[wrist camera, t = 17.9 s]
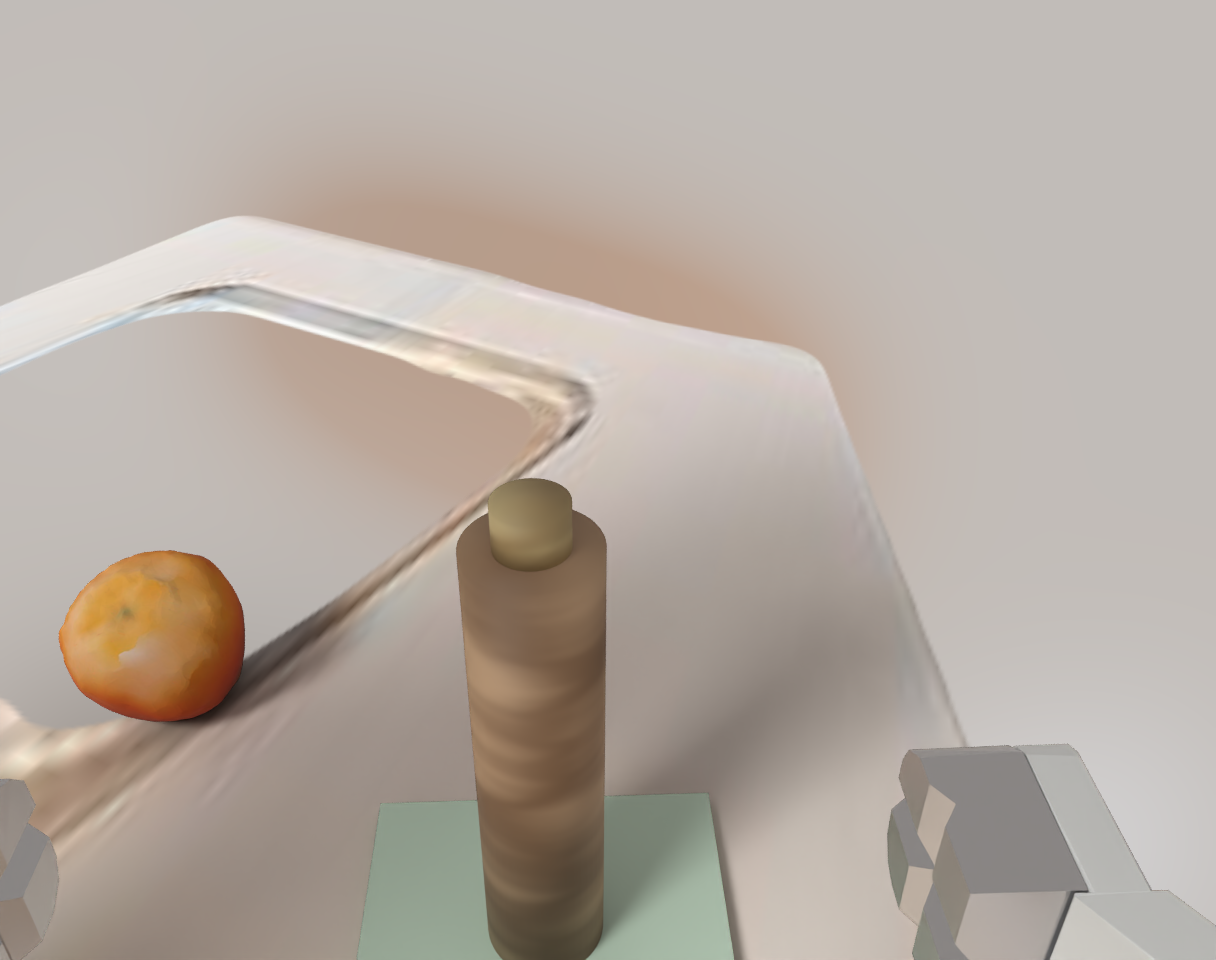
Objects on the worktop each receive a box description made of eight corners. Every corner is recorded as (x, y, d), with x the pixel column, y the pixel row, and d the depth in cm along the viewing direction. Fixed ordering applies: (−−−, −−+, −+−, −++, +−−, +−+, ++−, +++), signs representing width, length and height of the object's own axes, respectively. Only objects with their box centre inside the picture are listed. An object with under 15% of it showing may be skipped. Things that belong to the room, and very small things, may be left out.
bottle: (485, 977, 41) (446, 549, 30) (490, 875, 44) (457, 461, 34) (605, 973, 41) (610, 546, 30) (601, 871, 45) (603, 458, 34)
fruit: (303, 604, 57) (236, 544, 50) (246, 757, 54) (165, 715, 47) (166, 576, 59) (81, 514, 52) (102, 722, 56) (3, 677, 48)
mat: (338, 1097, 38) (336, 1087, 37) (382, 812, 48) (380, 803, 47) (749, 1079, 38) (751, 1069, 38) (707, 802, 48) (708, 792, 48)
